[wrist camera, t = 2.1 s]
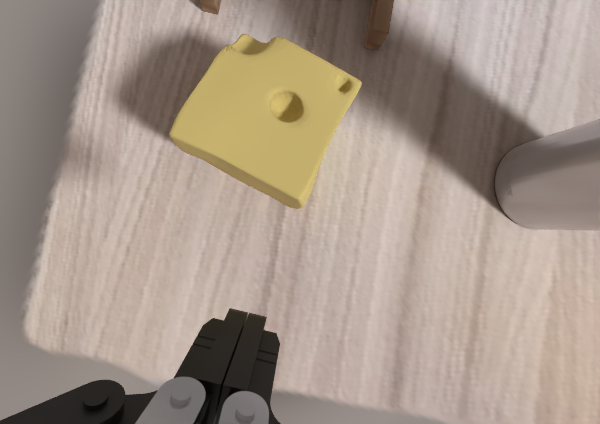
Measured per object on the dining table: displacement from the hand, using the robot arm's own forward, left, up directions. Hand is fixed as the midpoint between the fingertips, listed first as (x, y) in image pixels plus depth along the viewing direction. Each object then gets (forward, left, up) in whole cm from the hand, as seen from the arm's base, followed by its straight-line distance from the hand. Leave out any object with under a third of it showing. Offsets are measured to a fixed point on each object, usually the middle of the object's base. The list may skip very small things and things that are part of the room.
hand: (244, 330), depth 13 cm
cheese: (+1, -12, -18) cm, 22 cm away
